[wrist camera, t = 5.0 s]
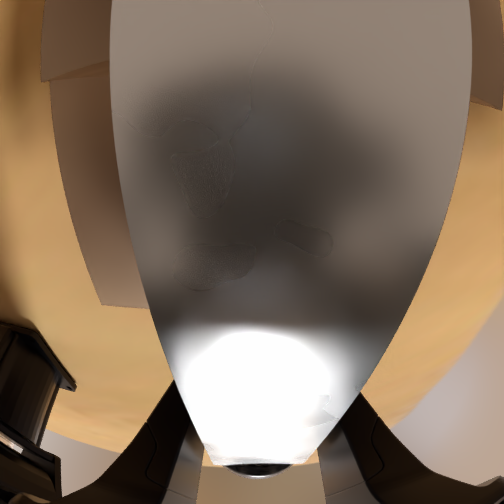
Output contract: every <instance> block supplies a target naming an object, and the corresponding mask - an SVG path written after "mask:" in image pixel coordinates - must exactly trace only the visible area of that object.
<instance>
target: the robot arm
mask: <svg viewBox="0 0 504 504" xmlns="http://www.w3.org/2000/svg"><path fill="white" fill-rule="evenodd" d="M59 388H62V389H66V390H69V391H73V392H75V390H76V388H77V386H76V384H75V383H74V382H73V381H72V380H71V378H70V377H69V376H68V375H67V373H66V372H65V371H64V370H63V368H62V367H61V366H60V364H59V363H58V362H57V360H56V359H55V358H54V356H53V355H52V354H51V352H50V351H49V349H48V348H47V347H46V345H45V344H44V342H43V341H42V339H41V338H40V336H39V335H38V334H37V333H36V332H34V331H32V330H29V329H25V328H21V327H17V326H13V325H10V324H6V323H3V322H0V434H1V435H2V436H4V437H5V438H6V439H8V440H9V441H11V442H13V443H14V444H16V445H17V446H19V447H20V448H22V449H23V451H22V453H21V454H20V453H19V452H17V451H16V450H14V449H12V448H11V447H9V446H8V445H6V444H5V443H3V442H2V441H0V504H196V500H197V493H198V486H199V480H200V473H201V466H202V460H203V453H204V445H203V443H202V441H201V439H200V437H199V435H198V433H197V431H196V428H195V426H194V424H193V422H192V420H191V418H190V415H189V413H188V411H187V409H186V406H185V404H184V402H183V399H182V397H181V395H180V392H179V390H178V387H177V385H176V382H175V380H173V381H172V383H171V384H170V386H169V387H168V389H167V390H166V392H165V393H164V395H163V396H162V398H161V399H160V401H159V402H158V404H157V405H156V407H155V408H154V410H153V411H152V413H151V414H150V416H149V417H148V419H147V422H145V423H144V425H143V426H142V428H141V429H140V431H139V432H138V434H137V435H136V436H135V438H134V439H133V440H132V442H131V443H130V444H129V445H128V447H127V448H126V449H125V450H124V451H123V452H122V454H121V455H120V456H119V457H118V458H117V459H116V460H115V461H114V463H113V464H112V465H111V466H110V467H109V468H108V469H107V470H106V471H105V472H104V473H103V474H102V475H101V477H99V479H97V480H96V481H94V482H93V483H92V484H90V485H88V486H86V487H84V488H82V489H80V490H78V491H76V492H73V493H71V494H69V495H67V496H64V497H62V491H61V490H62V489H61V459H60V458H59V457H58V456H56V455H54V454H51V453H49V452H47V451H44V450H43V449H41V448H40V445H41V441H42V437H43V434H44V431H45V428H46V425H47V422H48V419H49V416H50V413H51V410H52V407H53V404H54V401H55V399H56V396H57V393H58V390H59ZM317 451H318V456H319V462H320V468H321V474H322V480H323V486H324V492H325V497H326V498H325V499H326V504H504V477H501V476H497V477H495V478H492V479H490V480H488V481H486V482H484V483H481V484H479V485H477V486H474V485H470V484H467V483H464V482H461V481H458V480H455V479H452V478H449V477H446V476H443V475H441V474H438V473H436V472H433V471H432V470H430V469H429V468H427V467H426V466H424V464H422V463H421V462H420V461H419V460H418V459H417V458H416V457H415V456H414V455H413V454H412V453H411V452H410V451H409V450H408V449H407V448H406V447H405V446H404V445H403V444H402V443H401V442H400V441H399V440H398V439H397V437H395V435H394V434H393V433H392V432H391V431H390V429H389V428H388V427H387V426H386V425H385V423H384V422H383V421H382V419H381V418H380V417H378V414H377V413H376V412H375V410H374V409H373V408H372V406H371V405H370V404H369V402H368V401H367V400H366V399H365V397H364V396H363V395H362V393H361V392H359V394H358V395H357V397H356V398H355V400H354V401H353V402H352V404H351V405H350V407H349V408H348V409H347V411H346V412H345V413H344V415H343V416H342V417H341V419H340V420H339V421H338V423H337V424H336V425H335V426H334V428H333V429H332V430H331V432H330V433H329V434H328V435H327V437H326V438H325V439H324V440H323V441H322V443H321V444H320V445H319V446H318V447H317Z"/></svg>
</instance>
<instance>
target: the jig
mask: <svg viewBox="0 0 504 504" xmlns="http://www.w3.org/2000/svg"><path fill="white" fill-rule="evenodd" d="M469 7H470V18H471V33H472V73H471V89H470V101H471V102H474V103H478V104H482V105H485V106H489V107H492V108H495V109H498V110H501V111H502V106H503V94H504V34H503V23H502V14H501V7H500V1H499V0H469ZM111 9H112V0H45V6H44V15H43V24H42V38H41V82H47V81H50V95H51V108H52V119H53V128H54V136H55V143H56V149H57V155H58V161H59V167H60V172H61V177H62V182H63V186H64V191H65V195H66V199H67V203H68V207H69V211H70V215H71V218H72V222H73V226H74V229H75V232H76V236H77V239H78V242H79V245H80V248H81V251H82V254H83V257H84V260H85V263H86V266H87V269H88V272H89V274H90V277H91V280H92V282H93V285H94V287H95V290H96V292H97V295H98V297H99V300H100V302H101V305H108V306H119V307H132V308H145V309H149V305H148V302H147V299H146V295H145V292H144V288H143V285H142V281H141V277H140V274H139V270H138V266H137V262H136V258H135V254H134V250H133V245H132V241H131V237H130V232H129V227H128V223H127V218H126V213H125V208H124V202H123V197H122V191H121V185H120V179H119V172H118V165H117V158H116V150H115V141H114V132H113V121H112V108H111V91H110V25H111ZM470 101H469V104H470ZM468 113H469V110H468ZM467 120H468V118H467ZM466 127H467V125H466ZM465 134H466V131H465ZM464 140H465V138H464ZM463 145H464V143H463ZM462 150H463V149H462ZM461 155H462V154H461ZM460 160H461V159H460ZM459 165H460V163H459ZM458 169H459V168H458ZM457 173H458V172H457ZM456 178H457V176H456ZM455 182H456V180H455ZM454 185H455V184H454ZM453 189H454V188H453ZM452 193H453V192H452ZM451 197H452V195H451ZM450 200H451V199H450ZM449 204H450V202H449ZM448 207H449V206H448ZM447 210H448V209H447ZM446 214H447V212H446ZM445 217H446V216H445ZM444 220H445V219H444ZM443 223H444V222H443ZM442 226H443V225H442ZM441 229H442V228H441ZM440 232H441V231H440ZM439 235H440V234H439ZM438 238H439V237H438ZM437 240H438V239H437ZM436 243H437V242H436ZM435 246H436V245H435ZM434 249H435V248H434ZM433 251H434V250H433ZM432 254H433V253H432ZM430 259H431V258H430ZM428 264H429V263H428ZM426 269H427V268H426ZM425 271H426V270H425ZM424 274H425V273H424ZM423 276H424V275H423ZM421 281H422V280H421ZM420 283H421V282H420ZM419 285H420V284H419ZM417 290H418V289H417ZM416 292H417V291H416ZM415 294H416V293H415ZM414 296H415V295H414ZM410 305H411V304H410Z"/></svg>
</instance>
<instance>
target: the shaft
mask: <svg viewBox="0 0 504 504" xmlns="http://www.w3.org/2000/svg"><path fill="white" fill-rule="evenodd" d="M471 73H472V33H471V18H470V7H469V0H112V9H111V25H110V91H111V108H112V121H113V132H114V141H115V150H116V158H117V165H118V172H119V179H120V185H121V191H122V197H123V202H124V208H125V213H126V218H127V223H128V227H129V232H130V237H131V241H132V245H133V250H134V254H135V258H136V262H137V266H138V270H139V274H140V277H141V281H142V285H143V288H144V292H145V295H146V299H147V302H148V305H149V309H150V312H151V315H152V318H153V321H154V325H155V328H156V331H157V334H158V337H159V339H160V342H161V345H162V348H163V351H164V354H165V356H166V359H167V362H168V364H169V367H170V370H171V372H172V375H173V377H174V380H175V382H176V385H177V387H178V390H179V392H180V395H181V397H182V399H183V402H184V404H185V406H186V409H187V411H188V413H189V415H190V418H191V420H192V422H193V424H194V426H195V428H196V431H197V433H198V435H199V437H200V439H201V441H202V443H203V445H204V447H205V449H206V451H207V453H208V455H209V457H210V459H211V460H212V462H213V464H214V465H222V466H223V467H224V468H226V469H227V470H228V471H230V472H232V473H234V474H236V475H238V476H241V477H245V478H250V479H264V478H270V477H273V476H276V475H278V474H280V473H282V472H284V471H286V470H287V469H288V468H290V467H291V466H292V465H293V464H299V463H304V462H305V461H306V460H307V459H308V458H309V456H310V455H311V454H312V453H313V452H314V451H315V450H316V448H317V447H318V446H319V445H320V444H321V443H322V441H323V440H324V439H325V438H326V437H327V435H328V434H329V433H330V432H331V430H332V429H333V428H334V426H335V425H336V424H337V423H338V421H339V420H340V419H341V417H342V416H343V415H344V413H345V412H346V411H347V409H348V408H349V407H350V405H351V404H352V402H353V401H354V400H355V398H356V397H357V395H358V394H359V392H360V391H361V389H362V388H363V386H364V385H365V383H366V382H367V380H368V379H369V377H370V376H371V374H372V373H373V371H374V369H375V368H376V366H377V364H378V363H379V361H380V360H381V358H382V356H383V354H384V353H385V351H386V349H387V348H388V346H389V344H390V342H391V341H392V339H393V337H394V335H395V333H396V331H397V330H398V328H399V326H400V324H401V322H402V320H403V318H404V316H405V314H406V312H407V310H408V308H409V306H410V304H411V302H412V300H413V298H414V295H415V293H416V291H417V289H418V287H419V284H420V282H421V280H422V278H423V275H424V273H425V270H426V268H427V266H428V263H429V261H430V258H431V256H432V253H433V250H434V248H435V245H436V242H437V239H438V237H439V234H440V231H441V228H442V225H443V222H444V219H445V216H446V212H447V209H448V206H449V202H450V199H451V195H452V192H453V188H454V184H455V180H456V176H457V172H458V168H459V163H460V159H461V154H462V149H463V143H464V138H465V131H466V125H467V118H468V110H469V101H470V89H471Z"/></svg>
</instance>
